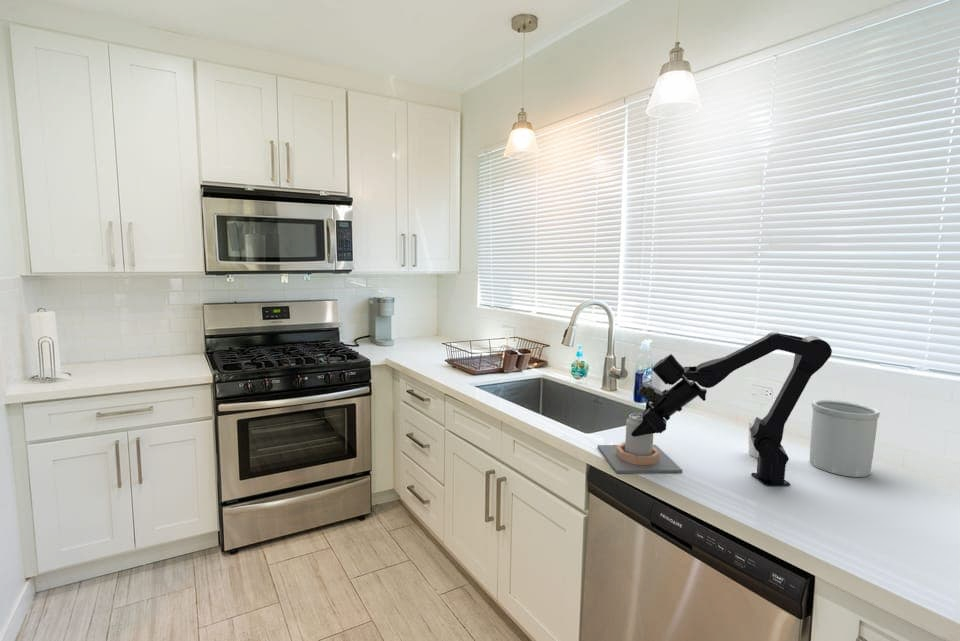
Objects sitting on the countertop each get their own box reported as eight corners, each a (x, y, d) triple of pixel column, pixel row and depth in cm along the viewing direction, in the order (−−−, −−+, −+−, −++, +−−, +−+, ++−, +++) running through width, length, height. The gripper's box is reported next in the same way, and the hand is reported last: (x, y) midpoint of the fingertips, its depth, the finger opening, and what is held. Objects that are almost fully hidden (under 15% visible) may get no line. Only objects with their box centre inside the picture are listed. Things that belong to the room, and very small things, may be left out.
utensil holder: (805, 452, 144) (810, 395, 142) (867, 463, 137) (874, 403, 134) (808, 470, 132) (814, 408, 130) (877, 483, 124) (885, 417, 122)
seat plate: (682, 472, 129) (683, 462, 129) (616, 473, 129) (617, 462, 128) (655, 447, 147) (656, 437, 147) (597, 447, 146) (597, 438, 146)
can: (657, 459, 136) (660, 418, 135) (638, 463, 133) (640, 421, 131) (637, 450, 143) (639, 410, 141) (619, 454, 139) (621, 414, 138)
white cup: (746, 457, 140) (749, 424, 139) (746, 448, 147) (748, 417, 145) (778, 463, 136) (781, 429, 135) (776, 453, 143) (779, 421, 142)
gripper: (658, 368, 142) (617, 399, 147) (654, 382, 125) (609, 417, 130) (685, 396, 140) (643, 428, 145) (685, 415, 123) (638, 450, 128)
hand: (633, 430), depth 137 cm, fingers open, 9 cm apart
